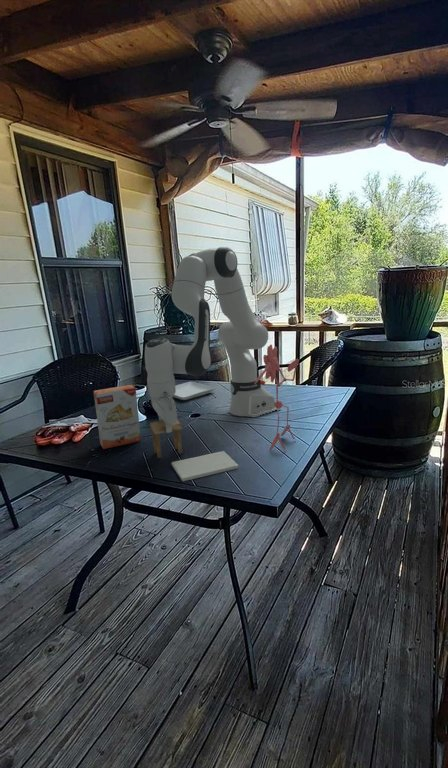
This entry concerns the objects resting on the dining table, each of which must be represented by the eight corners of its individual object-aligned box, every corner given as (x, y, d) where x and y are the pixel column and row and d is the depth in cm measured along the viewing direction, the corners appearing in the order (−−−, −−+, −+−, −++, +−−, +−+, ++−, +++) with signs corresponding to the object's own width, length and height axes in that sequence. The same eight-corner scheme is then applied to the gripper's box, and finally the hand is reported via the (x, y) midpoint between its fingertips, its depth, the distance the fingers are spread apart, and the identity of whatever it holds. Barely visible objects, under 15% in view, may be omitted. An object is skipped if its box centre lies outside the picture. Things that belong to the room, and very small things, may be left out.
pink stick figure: (305, 433, 148) (303, 338, 140) (279, 462, 127) (274, 352, 118) (267, 428, 156) (262, 338, 147) (236, 455, 135) (228, 351, 126)
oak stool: (178, 446, 142) (175, 418, 139) (183, 452, 136) (180, 423, 134) (153, 451, 139) (150, 422, 136) (157, 458, 133) (154, 428, 130)
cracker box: (103, 450, 143) (95, 394, 138) (100, 444, 149) (92, 390, 143) (141, 441, 149) (135, 387, 144) (137, 436, 155) (131, 383, 149)
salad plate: (183, 403, 193) (183, 396, 192) (159, 396, 209) (158, 389, 208) (216, 393, 207) (216, 387, 206) (191, 387, 222) (190, 381, 221)
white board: (223, 453, 135) (223, 450, 135) (238, 468, 125) (238, 465, 124) (171, 465, 129) (171, 462, 129) (182, 481, 118) (182, 478, 118)
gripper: (180, 394, 123) (183, 437, 127) (163, 380, 142) (167, 417, 145) (159, 398, 121) (164, 441, 125) (145, 383, 139) (150, 420, 143)
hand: (165, 428), depth 135 cm, fingers closed on oak stool, 6 cm apart
